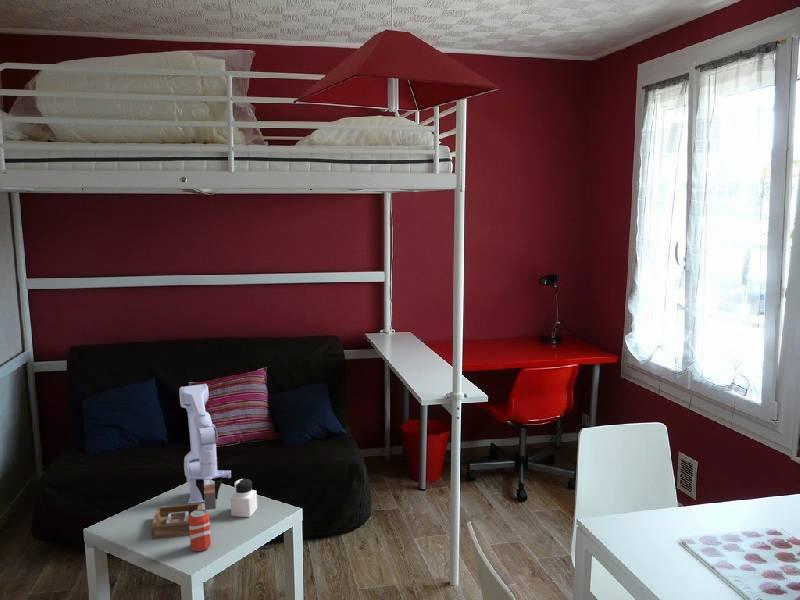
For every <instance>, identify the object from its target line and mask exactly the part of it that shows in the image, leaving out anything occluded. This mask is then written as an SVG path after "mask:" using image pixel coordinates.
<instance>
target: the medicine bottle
mask: <svg viewBox="0 0 800 600" xmlns="http://www.w3.org/2000/svg"><path fill="white" fill-rule="evenodd" d="M257 509H258V495H257V490H254V489H253V481H252V480H251V479H249V478H241V479H238V480H236V481H234V493H233V494H232V495H231V497H230V512H231V517H241V518H251V517H252V515H253V514H255V512H256V510H257Z"/></svg>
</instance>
